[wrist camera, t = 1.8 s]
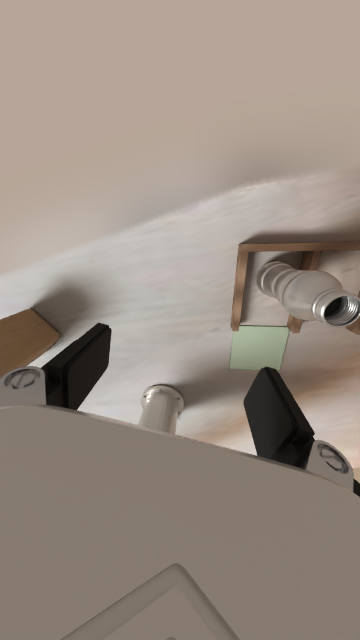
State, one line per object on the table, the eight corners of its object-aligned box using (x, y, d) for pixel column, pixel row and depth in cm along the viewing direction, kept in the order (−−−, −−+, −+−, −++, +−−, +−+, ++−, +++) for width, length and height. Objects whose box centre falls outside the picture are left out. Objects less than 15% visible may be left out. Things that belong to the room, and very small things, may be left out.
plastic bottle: (273, 298, 38) (344, 349, 20) (246, 283, 37) (292, 322, 19) (295, 269, 35) (398, 299, 17) (265, 253, 35) (341, 266, 16)
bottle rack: (351, 328, 39) (367, 337, 35) (230, 325, 41) (233, 333, 38) (386, 241, 32) (410, 241, 28) (238, 244, 34) (243, 244, 31)
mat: (278, 370, 45) (279, 371, 44) (229, 368, 46) (229, 368, 46) (289, 326, 40) (289, 327, 40) (234, 325, 41) (234, 326, 41)
